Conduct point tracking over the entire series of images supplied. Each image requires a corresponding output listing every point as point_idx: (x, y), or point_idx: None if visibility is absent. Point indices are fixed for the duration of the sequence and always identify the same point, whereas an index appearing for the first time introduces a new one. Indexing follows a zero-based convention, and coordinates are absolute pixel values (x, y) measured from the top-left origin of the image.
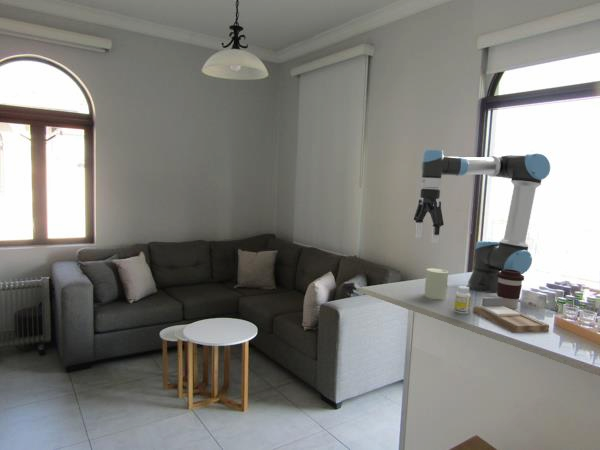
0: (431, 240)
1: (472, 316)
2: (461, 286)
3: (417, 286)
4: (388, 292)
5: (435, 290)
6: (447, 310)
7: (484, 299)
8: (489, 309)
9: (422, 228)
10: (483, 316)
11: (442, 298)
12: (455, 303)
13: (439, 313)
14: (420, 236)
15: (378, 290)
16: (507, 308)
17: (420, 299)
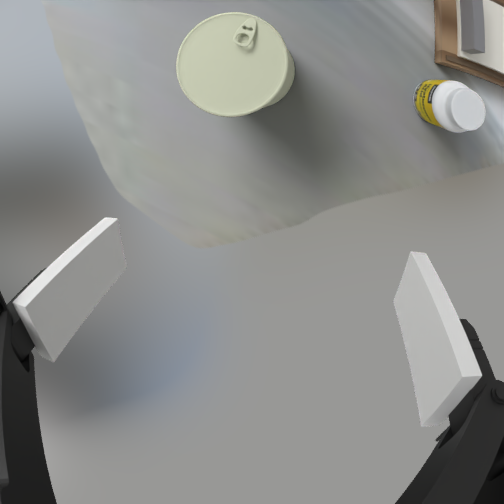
0: (400, 315)
1: None
2: (460, 111)
3: (122, 74)
4: (199, 213)
5: (284, 91)
6: (412, 135)
7: (481, 52)
8: (494, 66)
9: (64, 268)
10: (477, 76)
11: (293, 64)
12: (436, 125)
13: (429, 182)
14: (113, 238)
15: (178, 233)
16: (486, 2)
17: (286, 147)
